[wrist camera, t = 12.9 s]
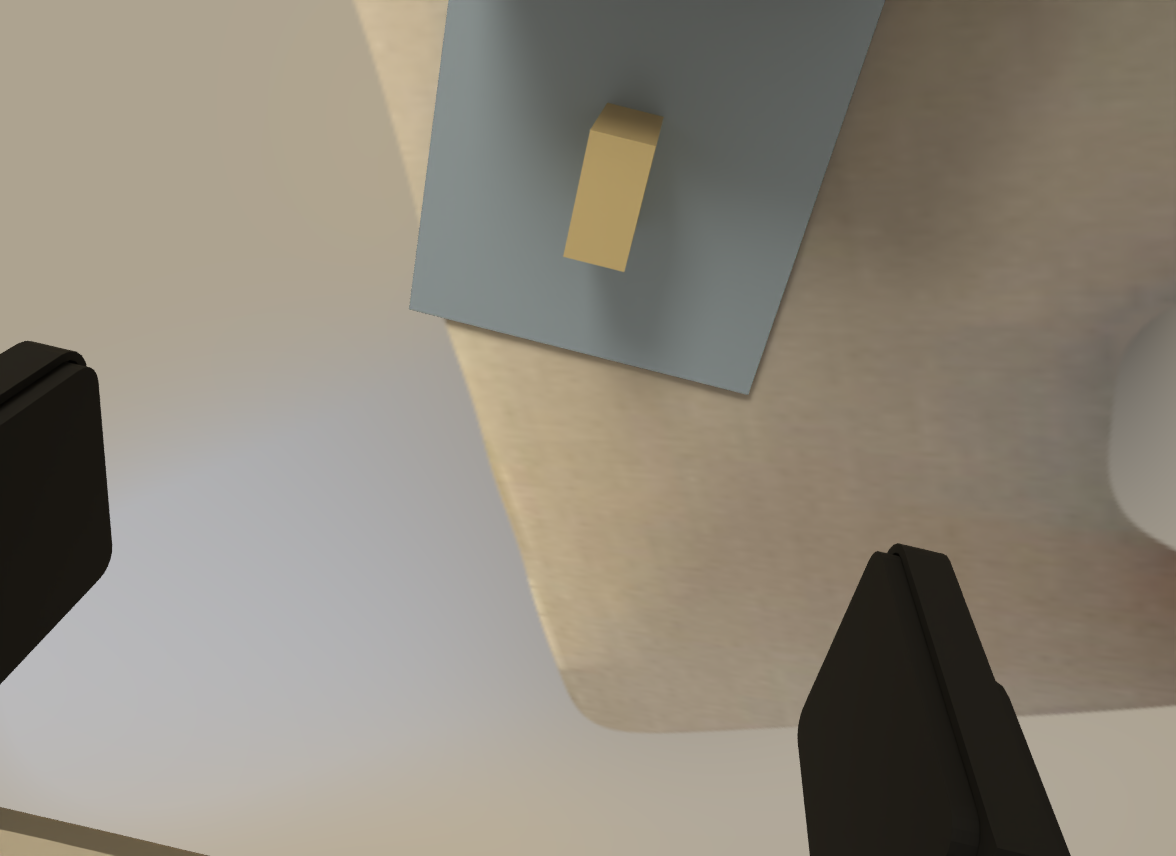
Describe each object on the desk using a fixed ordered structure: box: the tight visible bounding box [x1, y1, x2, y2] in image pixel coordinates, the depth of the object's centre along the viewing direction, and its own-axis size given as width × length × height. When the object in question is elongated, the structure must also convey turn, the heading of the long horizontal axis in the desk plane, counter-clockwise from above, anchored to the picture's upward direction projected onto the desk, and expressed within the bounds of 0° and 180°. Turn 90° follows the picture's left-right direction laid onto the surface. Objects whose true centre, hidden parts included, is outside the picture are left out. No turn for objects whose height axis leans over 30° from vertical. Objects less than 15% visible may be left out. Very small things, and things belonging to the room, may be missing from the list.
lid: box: [409, 0, 885, 395], centre depth 30 cm, size 15×14×6 cm
